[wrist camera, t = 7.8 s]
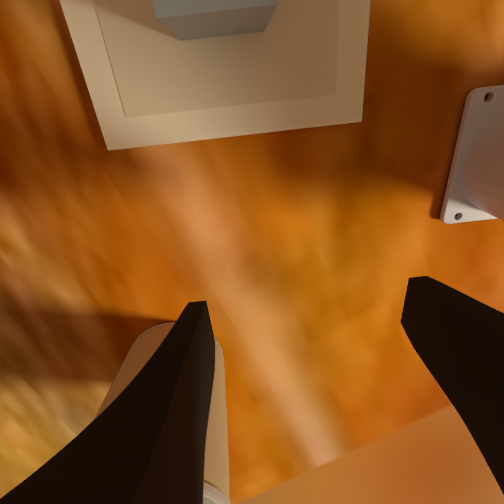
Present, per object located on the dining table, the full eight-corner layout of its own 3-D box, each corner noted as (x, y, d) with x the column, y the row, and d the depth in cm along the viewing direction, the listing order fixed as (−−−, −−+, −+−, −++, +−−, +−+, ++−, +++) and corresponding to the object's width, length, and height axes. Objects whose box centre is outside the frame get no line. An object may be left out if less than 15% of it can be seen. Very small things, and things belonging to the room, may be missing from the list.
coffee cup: (99, 330, 23) (-12, 526, 13) (211, 300, 23) (191, 484, 12) (151, 400, 28) (100, 590, 17) (246, 378, 27) (254, 562, 16)
